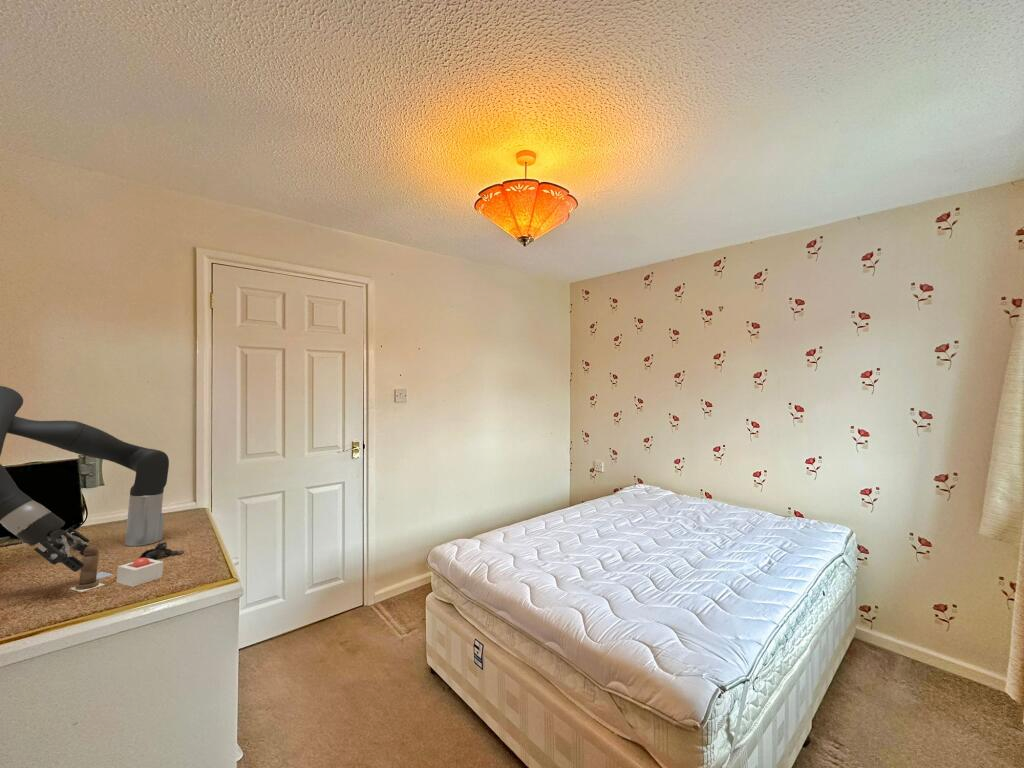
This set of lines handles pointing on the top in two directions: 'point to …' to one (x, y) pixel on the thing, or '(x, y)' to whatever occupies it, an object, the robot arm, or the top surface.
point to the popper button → (141, 562)
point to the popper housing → (139, 573)
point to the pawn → (89, 569)
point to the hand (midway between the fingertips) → (88, 563)
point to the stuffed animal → (160, 552)
